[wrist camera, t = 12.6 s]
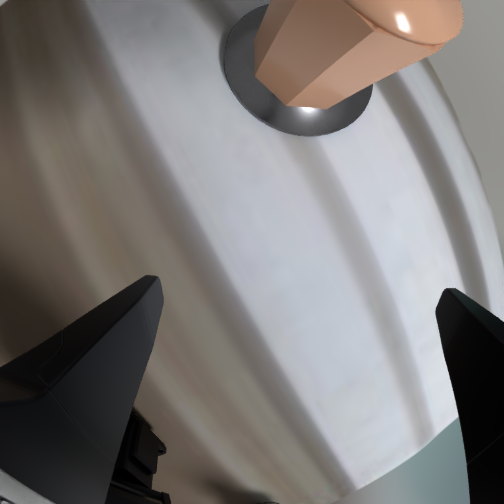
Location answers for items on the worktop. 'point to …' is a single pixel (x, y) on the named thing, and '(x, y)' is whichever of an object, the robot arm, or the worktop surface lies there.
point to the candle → (266, 102)
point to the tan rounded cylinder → (346, 44)
